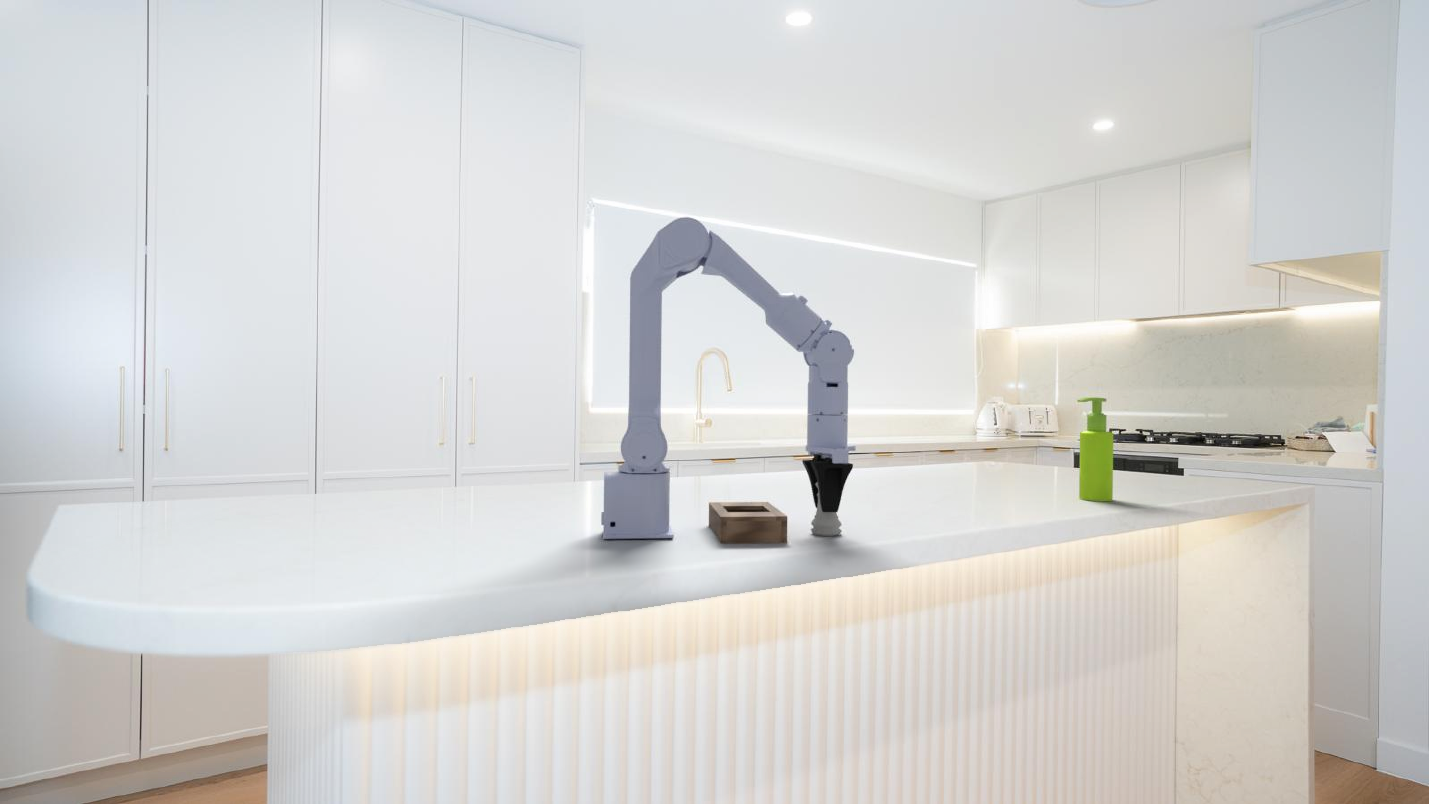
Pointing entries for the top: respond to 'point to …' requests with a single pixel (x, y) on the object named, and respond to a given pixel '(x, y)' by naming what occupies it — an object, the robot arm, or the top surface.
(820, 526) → the rook chess piece
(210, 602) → the top surface
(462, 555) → the top surface
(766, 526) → the brown wooden hollow block
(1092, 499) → the soap dispenser
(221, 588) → the top surface
